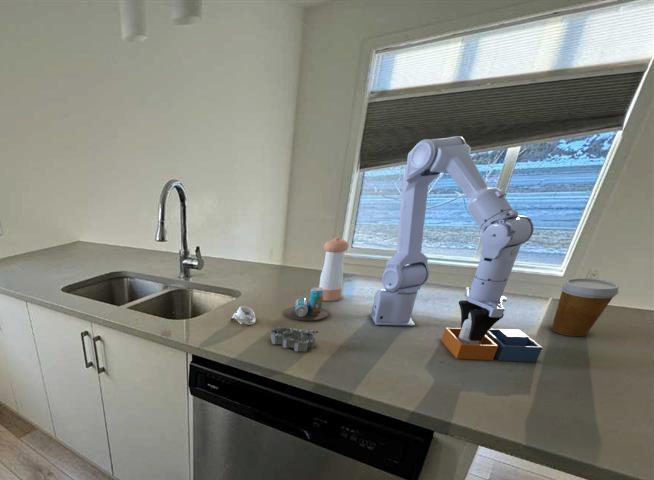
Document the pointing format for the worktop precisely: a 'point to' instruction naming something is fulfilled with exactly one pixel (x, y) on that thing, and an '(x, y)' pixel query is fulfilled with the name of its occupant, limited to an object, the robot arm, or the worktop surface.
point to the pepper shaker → (333, 269)
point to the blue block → (512, 337)
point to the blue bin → (515, 349)
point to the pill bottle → (467, 333)
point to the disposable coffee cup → (582, 305)
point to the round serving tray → (309, 307)
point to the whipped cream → (244, 316)
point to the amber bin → (468, 346)
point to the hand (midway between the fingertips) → (470, 335)
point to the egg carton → (294, 338)
